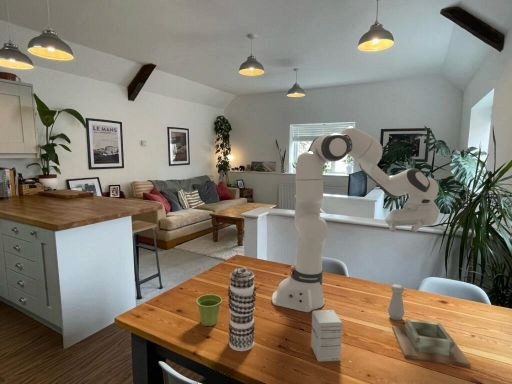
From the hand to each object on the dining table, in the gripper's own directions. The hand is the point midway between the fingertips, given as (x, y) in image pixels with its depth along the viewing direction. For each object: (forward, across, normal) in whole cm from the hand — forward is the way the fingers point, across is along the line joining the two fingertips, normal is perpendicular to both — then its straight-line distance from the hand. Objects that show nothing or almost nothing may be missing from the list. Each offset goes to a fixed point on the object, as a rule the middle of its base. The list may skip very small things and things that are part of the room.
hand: (402, 230), depth 114 cm
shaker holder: (+32, +12, +22) cm, 40 cm away
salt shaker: (+25, -4, +23) cm, 34 cm away
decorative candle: (+71, -17, -16) cm, 74 cm away
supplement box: (+56, -1, 0) cm, 56 cm away
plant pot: (+72, -34, -22) cm, 83 cm away
